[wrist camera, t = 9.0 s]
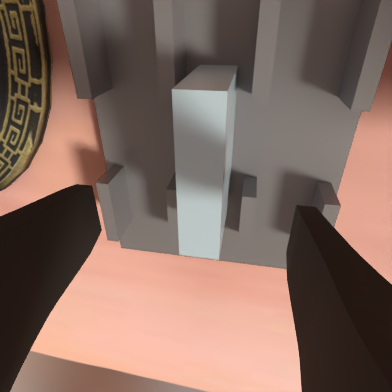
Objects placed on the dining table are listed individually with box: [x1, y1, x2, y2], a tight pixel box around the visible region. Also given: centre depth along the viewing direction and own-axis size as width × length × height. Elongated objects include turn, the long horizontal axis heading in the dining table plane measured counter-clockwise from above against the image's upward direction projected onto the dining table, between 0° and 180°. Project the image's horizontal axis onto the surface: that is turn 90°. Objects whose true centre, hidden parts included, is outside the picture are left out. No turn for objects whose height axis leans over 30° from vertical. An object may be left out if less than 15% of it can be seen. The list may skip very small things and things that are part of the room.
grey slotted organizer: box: [57, 0, 392, 269], centre depth 17 cm, size 15×20×4 cm
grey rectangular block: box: [172, 65, 238, 260], centre depth 15 cm, size 2×8×6 cm, turn 0°
